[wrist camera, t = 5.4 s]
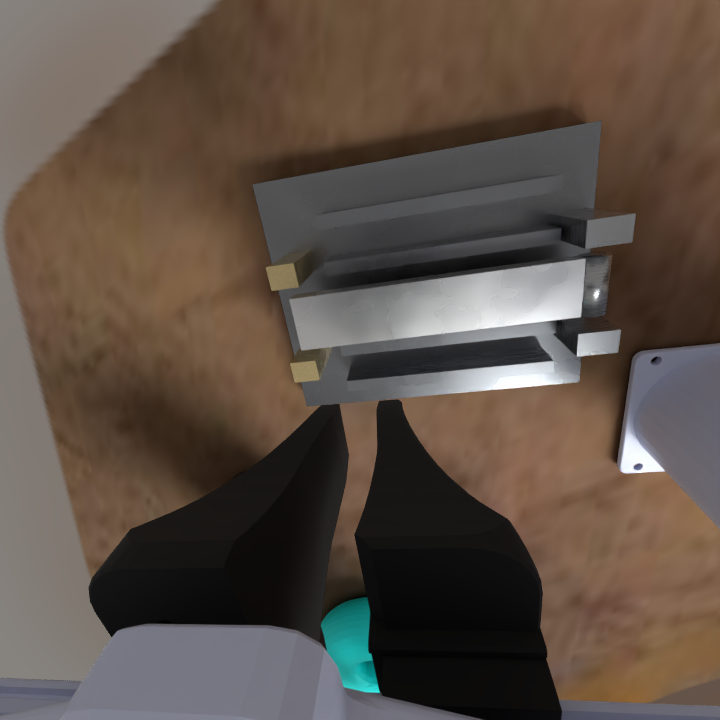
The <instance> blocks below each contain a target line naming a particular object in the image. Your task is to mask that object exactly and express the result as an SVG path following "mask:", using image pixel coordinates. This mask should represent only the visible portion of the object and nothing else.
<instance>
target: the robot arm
mask: <svg viewBox="0 0 720 720" xmlns="http://www.w3.org/2000/svg"><path fill="white" fill-rule="evenodd" d="M654 357H657V359H656V360H655V361H654V362H651V360H652V359H653V358H654ZM377 444H378V445H377V456H376V462H375V467H374V472H373V477H372V482H371V486H370V490H369V494H368V497H367V501H366V504H365V508H364V511H363V513H362V516H361V519H360V522H359V524H358V527H357V529H356V532H355V534H354V535H355V540H356V545H357V550H358V554H359V559H360V564H361V569H362V574H363V579H364V584H365V589H366V594H367V598H368V603H369V608H370V623H369V637H368V651H369V654H371V655H372V659H373V664H374V668H375V673H376V678H377V682H378V687H379V691H380V693H373V692H363V691H359V690H354V689H350V688H345V687H343V684H342V680H341V677H340V673H339V670H338V667H337V665H336V664H335V662H334V661H333V659H332V658H331V657H330V655H329V654H328V652H327V651H326V650H325V648H324V647H323V646H322V644H321V643H319V640H320V630H321V620H322V611H323V602H324V593H325V585H326V577H327V570H328V562H329V555H330V550H331V544H332V540H333V535H334V531H335V527H336V523H337V519H338V514H339V510H340V506H341V502H342V497H343V493H344V489H345V484H346V478H347V469H348V457H349V453H348V448H347V442H346V437H345V432H344V427H343V421H342V416H341V411H340V406H339V404H332V405H321V406H320V407H319V408H318V409H317V410H316V411H315V412H314V413H313V414H312V415H311V416H310V417H309V418H308V419H307V420H306V421H305V422H304V423H303V424H301V425H300V426H299V427H298V428H297V429H296V430H295V431H294V432H293V433H292V434H291V435H290V436H289V437H288V438H287V439H286V440H284V441H283V442H282V443H281V444H280V445H279V446H278V447H276V448H275V449H274V450H273V451H272V452H271V453H270V454H268V455H267V456H266V457H265V458H263V459H262V460H261V461H259V462H258V463H257V464H255V465H254V466H253V467H251V468H250V469H248V470H247V471H246V472H244V473H243V474H241V475H240V476H238V477H236V478H235V479H233V480H231V481H230V482H228V483H227V484H225V485H223V486H222V487H220V488H218V489H217V490H215V491H213V492H211V493H210V494H208V495H206V496H204V497H202V498H200V499H198V500H196V501H194V502H192V503H190V504H188V505H186V506H184V507H182V508H180V509H178V510H176V511H174V512H171V513H169V514H167V515H164V516H162V517H159V518H157V519H155V520H152V521H150V522H147V523H145V524H143V525H140V526H138V527H135V528H132V529H130V531H129V532H128V533H127V534H126V536H125V537H124V538H123V539H122V541H121V542H120V543H119V544H118V546H117V547H116V548H115V550H114V551H113V552H112V553H111V555H110V556H109V557H108V558H107V560H106V561H105V562H104V563H103V565H102V566H101V567H100V569H99V570H98V571H97V572H96V574H95V575H94V576H93V577H92V580H91V582H90V585H89V597H90V602H91V604H92V606H93V609H94V611H95V612H96V614H97V616H98V617H99V619H100V620H101V622H102V623H103V625H104V626H105V628H106V629H107V631H108V633H109V634H110V636H111V637H112V638H111V639H110V640H109V642H108V643H107V644H106V646H105V648H104V649H103V650H102V652H101V654H100V655H99V657H98V658H97V660H96V661H95V663H94V665H93V666H92V668H91V669H90V671H89V672H88V674H87V675H86V677H85V679H84V680H83V681H66V680H65V681H64V680H41V679H15V678H0V720H720V706H702V705H679V704H653V703H628V702H602V701H577V700H559V699H558V696H557V692H556V689H555V686H554V683H553V679H552V676H551V673H550V670H549V667H548V663H547V660H546V658H547V649H546V645H545V642H544V638H543V635H542V632H541V629H540V622H541V609H542V596H543V592H542V585H541V579H540V577H539V574H538V571H537V569H536V567H535V564H534V562H533V560H532V558H531V556H530V554H529V552H528V550H527V549H526V547H525V545H524V543H523V542H522V540H521V538H520V536H519V535H518V533H517V532H516V530H515V529H514V527H513V525H512V524H511V522H510V521H509V520H508V519H507V518H505V517H503V516H502V515H500V514H499V513H497V512H495V511H494V510H492V509H490V508H489V507H487V506H485V505H484V504H482V503H481V502H479V501H478V500H476V499H475V498H474V497H472V496H471V495H470V494H468V493H467V492H466V491H465V490H464V489H463V488H461V487H460V486H459V485H458V484H457V483H456V482H455V481H453V480H452V479H451V478H450V477H449V476H448V475H447V474H446V473H445V472H444V471H443V470H442V469H441V468H440V467H439V466H438V465H437V463H436V462H435V461H434V460H433V459H432V458H431V456H430V455H429V454H428V453H427V451H426V450H425V449H424V447H423V446H422V444H421V443H420V441H419V440H418V438H417V437H416V435H415V434H414V432H413V430H412V428H411V427H410V425H409V423H408V421H407V419H406V416H405V414H404V411H403V407H402V402H401V401H399V400H386V401H379V403H378V407H377ZM637 463H638V464H637ZM635 464H637V465H635ZM634 465H635V466H634ZM617 467H618V468H619V469H620V471H621V472H623V473H641V472H659V471H666V472H667V474H668V475H669V476H670V477H671V478H672V479H673V480H674V481H675V482H676V483H677V484H678V485H679V486H680V487H681V488H682V489H683V491H684V492H685V493H686V494H687V495H688V496H689V497H690V498H691V499H692V500H693V501H694V502H695V503H696V504H697V505H698V506H699V507H700V509H701V510H702V511H703V512H704V513H705V514H706V515H707V516H708V517H709V518H710V519H711V520H712V521H713V522H714V523H715V524H716V526H717V527H718V528H719V529H720V343H716V344H706V345H696V346H686V347H676V348H666V349H656V350H645V351H640V352H638V353H637V354H635V355H634V357H633V359H632V363H631V370H630V377H629V384H628V391H627V398H626V405H625V412H624V419H623V426H622V432H621V439H620V446H619V453H618V460H617Z"/></svg>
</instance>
